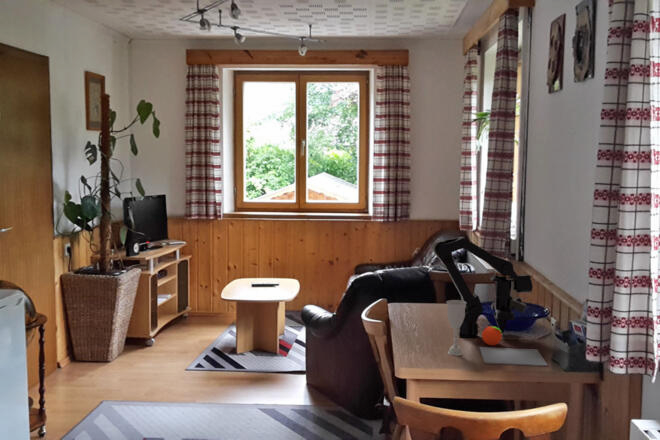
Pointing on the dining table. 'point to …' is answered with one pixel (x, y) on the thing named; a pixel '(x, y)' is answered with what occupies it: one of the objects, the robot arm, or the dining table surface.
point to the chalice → (456, 322)
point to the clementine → (492, 335)
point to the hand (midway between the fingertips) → (501, 332)
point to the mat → (512, 356)
